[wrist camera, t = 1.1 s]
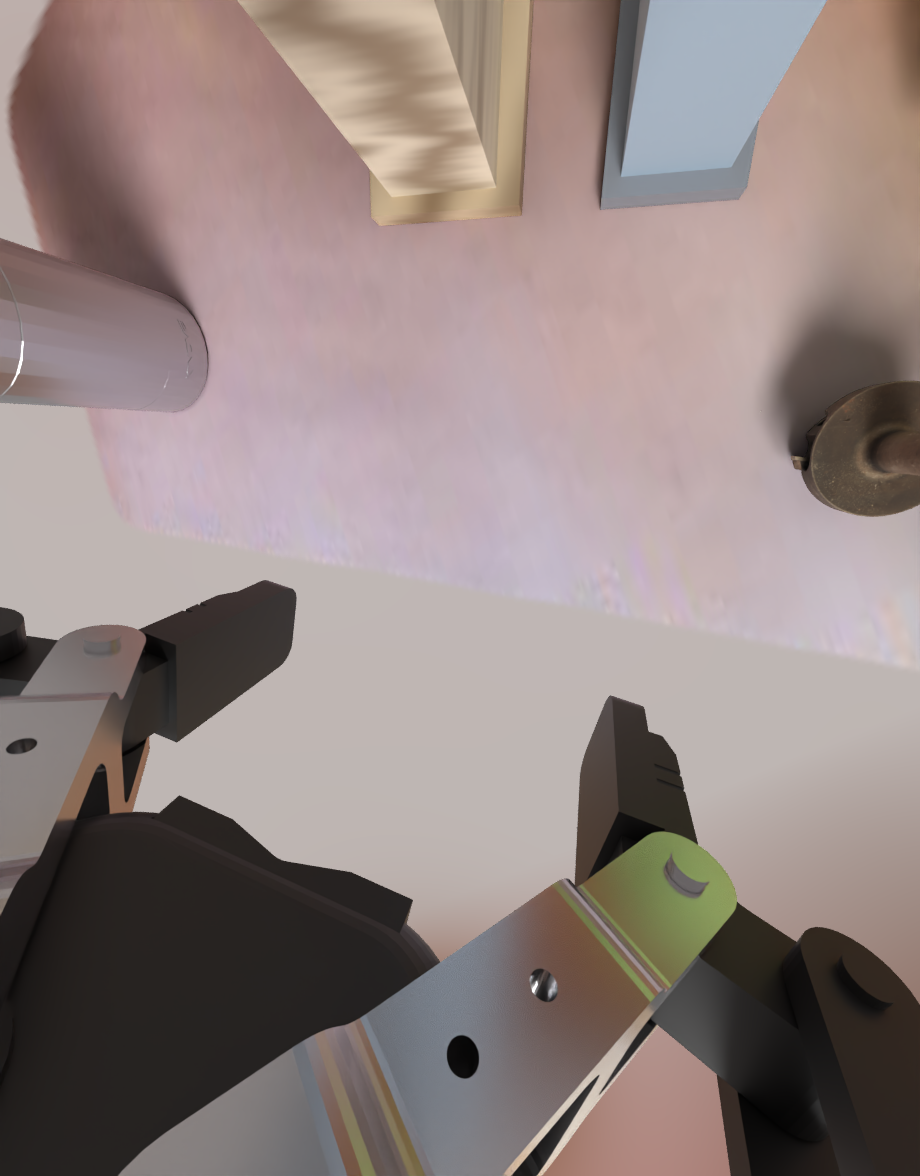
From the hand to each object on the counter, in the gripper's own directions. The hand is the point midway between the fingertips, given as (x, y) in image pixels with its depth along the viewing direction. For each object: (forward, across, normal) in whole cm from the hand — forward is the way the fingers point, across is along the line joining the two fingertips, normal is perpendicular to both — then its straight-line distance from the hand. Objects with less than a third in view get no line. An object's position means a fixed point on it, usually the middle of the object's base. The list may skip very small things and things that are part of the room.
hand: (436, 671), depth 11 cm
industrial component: (+28, +16, +8) cm, 34 cm away
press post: (+28, +1, +26) cm, 38 cm away
